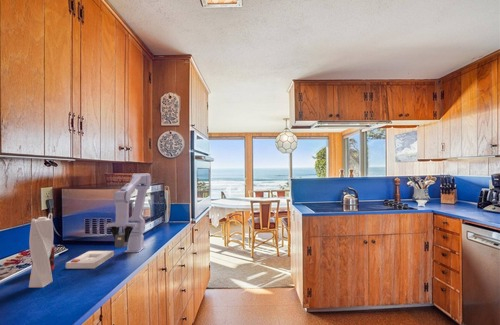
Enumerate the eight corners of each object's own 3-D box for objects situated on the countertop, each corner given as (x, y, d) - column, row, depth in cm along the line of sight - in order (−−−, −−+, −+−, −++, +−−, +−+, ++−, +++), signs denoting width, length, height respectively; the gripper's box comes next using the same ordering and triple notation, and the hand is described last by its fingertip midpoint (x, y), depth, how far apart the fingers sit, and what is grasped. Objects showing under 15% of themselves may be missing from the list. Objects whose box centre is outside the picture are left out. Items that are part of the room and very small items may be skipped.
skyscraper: (58, 280, 110) (59, 211, 111) (45, 288, 103) (46, 214, 103) (38, 280, 110) (39, 211, 111) (23, 288, 102) (24, 215, 103)
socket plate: (89, 255, 141) (89, 249, 141) (113, 255, 141) (113, 249, 141) (65, 268, 123) (65, 261, 123) (94, 268, 123) (94, 261, 123)
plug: (121, 243, 140) (121, 231, 140) (129, 243, 140) (129, 231, 140) (114, 247, 133) (114, 235, 133) (123, 247, 133) (124, 235, 133)
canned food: (28, 272, 119) (28, 247, 119) (48, 266, 126) (49, 243, 126) (37, 275, 115) (37, 249, 115) (57, 269, 122) (58, 245, 122)
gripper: (103, 216, 132) (102, 244, 132) (133, 216, 132) (132, 243, 132) (110, 213, 139) (110, 240, 139) (138, 213, 139) (138, 240, 139)
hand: (121, 241), depth 136 cm, fingers closed on plug, 4 cm apart
